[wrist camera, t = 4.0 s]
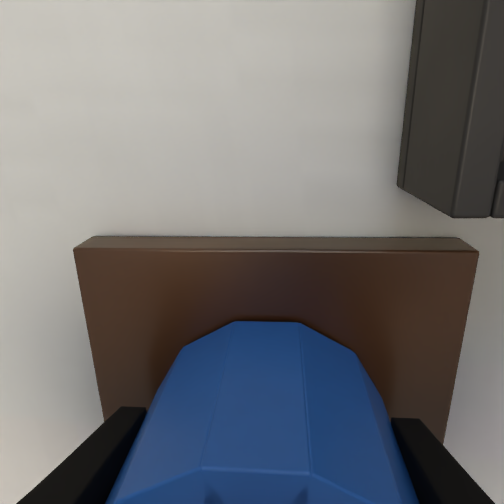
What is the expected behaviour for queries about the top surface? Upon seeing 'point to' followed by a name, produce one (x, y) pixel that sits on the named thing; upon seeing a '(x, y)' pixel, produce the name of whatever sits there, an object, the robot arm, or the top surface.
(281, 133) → the top surface
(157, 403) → the tape roll
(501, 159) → the tray
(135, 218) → the top surface
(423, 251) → the tape holder
